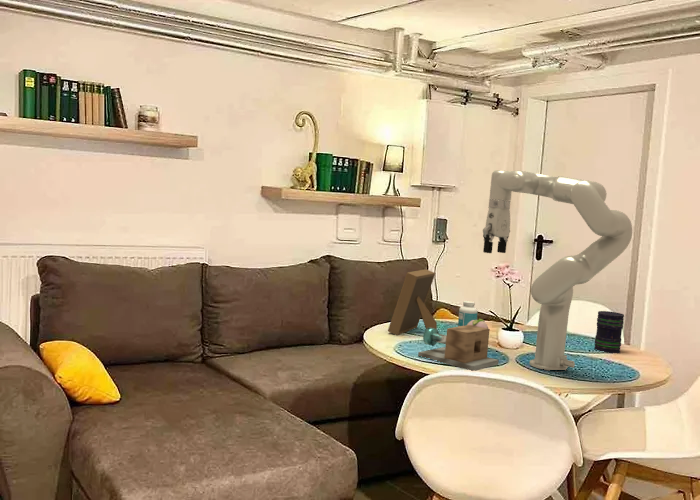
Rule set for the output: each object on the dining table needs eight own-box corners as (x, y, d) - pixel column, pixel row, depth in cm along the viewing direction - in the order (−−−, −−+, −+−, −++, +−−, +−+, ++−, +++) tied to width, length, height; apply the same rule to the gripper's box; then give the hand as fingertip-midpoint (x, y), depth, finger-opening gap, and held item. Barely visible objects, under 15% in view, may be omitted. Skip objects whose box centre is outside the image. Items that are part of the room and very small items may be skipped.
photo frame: (387, 333, 277) (393, 270, 275) (407, 326, 296) (413, 267, 294) (422, 340, 270) (429, 275, 268) (440, 332, 290) (447, 272, 288)
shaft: (471, 352, 240) (472, 335, 239) (461, 354, 235) (463, 336, 235) (432, 343, 250) (433, 326, 250) (422, 345, 246) (423, 328, 245)
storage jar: (622, 354, 272) (626, 316, 270) (595, 351, 274) (599, 313, 272) (617, 349, 281) (621, 312, 280) (592, 346, 283) (596, 310, 282)
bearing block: (498, 364, 238) (501, 330, 238) (473, 370, 226) (476, 335, 226) (443, 351, 253) (446, 319, 252) (418, 356, 241) (420, 323, 240)
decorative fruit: (468, 339, 279) (471, 314, 278) (489, 342, 275) (491, 317, 275) (461, 342, 271) (464, 317, 270) (482, 346, 267) (484, 320, 266)
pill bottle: (478, 334, 290) (481, 302, 289) (471, 337, 283) (474, 304, 282) (461, 331, 294) (464, 299, 292) (454, 333, 287) (457, 301, 286)
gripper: (496, 205, 243) (491, 254, 244) (520, 207, 256) (515, 253, 257) (477, 203, 248) (472, 251, 249) (502, 205, 261) (497, 251, 262)
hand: (494, 252), depth 253 cm, fingers open, 9 cm apart
